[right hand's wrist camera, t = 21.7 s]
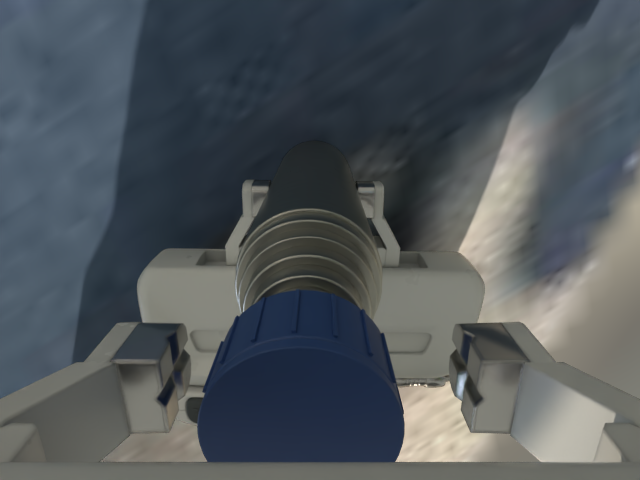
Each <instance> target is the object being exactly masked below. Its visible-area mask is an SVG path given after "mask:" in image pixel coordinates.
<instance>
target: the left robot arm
mask: <svg viewBox="0 0 640 480" xmlns="http://www.w3.org/2000/svg"><path fill="white" fill-rule="evenodd" d="M271 183H272V181H271V180H245V182H244V183H243V187H242V200H243V214H242V216H241V218H240V220H239V222H238V223H237V225H236V227H235V229H234V231H233V232H232V234H231V236H230V238H229V240H228V242H227V243H226V245H225V249H182V248H169V249H165V250H163V251H161V252H160V253H159V254H158V255H157V256H156V257H155V258H154V259H153V260H152V261H151V262H150V263H149V264H148V265H147V266H146V268H145V269H144V270H143V272H142V273H141V275H140V277H139V279H138V282H137V295H138V302H139V308H140V313H141V318H142V322H150V323H184V325H185V326H186V329H187V335H188V341H187V343H186V345H185V347H184V349H185V351H186V352H187V353H188V354H189V355H190V358H191V378H190V383H189V388H188V390H187V393H186V395H185V396H184V397H183V398H182V399H180V400H179V401H178V405H179V411H178V414H177V416H176V418H175V419H177V420H179V421H182V422H185V423H189V424H192V425H196V426H197V421H198V413H199V409H200V406H201V403H202V400H203V397H204V394H205V393H203V392H202V391H203V388H204V385H205V383H206V380H207V377H208V375H209V372H210V369H211V367H212V364H213V361H214V359H215V356H216V354H217V351H218V348H219V346H220V343H221V341H223V342H224V340H225V337H226V335H227V333H228V331H229V329H230V327H231V326H232V325H233V322H234V319H235V317H236V316H237V315H238V316H240V315H241V313H240V308H239V305H238V302H237V297H236V292H235V276H236V264H237V259H238V255H239V253H240V250H241V247H242V245H243V243H244V241H245V239H246V237H247V235H248V234H247V235H246V236H245V234H246V232H247V230H248V229H249V227H250V225H251V223H252V221H253V220H254V218H255V217H256V215H257V213H258V211H259V209H260V207H261V205H262V202H263V200H264V198H265V196H266V194H267V192H268V190H269V188H270V185H271ZM355 185H356V188H357V191H358V194H359V197H360V200H361V203H362V206H363V209H364V212H365V215H366V217H367V218H371V220H372V222H373V224H374V225H375V227H376V229H377V231H378V233H379V235H380V236H373V238H374V241H375V244H376V247H377V250H378V252H379V255H380V259H381V263H382V271H383V277H382V294H381V299H380V303H379V306H378V309H377V311H376V313H375V316H374V319H373V322H374V323H375V324H376V326H377V327H378V329H379V330H380V332H381V333H384V335H385V338H386V342H387V346H388V350H389V354H390V358H391V362H392V366H393V370H394V374H395V378H396V381H397V387H409V386H424V387H428V388H436V387H442V386H444V385H445V382H446V381H450V379H449V359H450V355H451V354H452V353H453V352H454V351H455V349H456V347H455V345H454V343H453V341H452V335H453V329H454V326H455V324H464V323H477V322H478V318H479V315H480V311H481V307H482V303H483V298H484V293H485V285H484V282H483V279H482V278H481V276H480V274H479V273H478V271H477V270H476V269H475V267H474V266H473V265H472V264H471V263H470V262H469V261H468V260H467V259H466V258H465V257H464V256H463V255H462V254H460V253H458V252H427V251H400V247H399V245H398V242H397V240H396V238H395V236H394V234H393V232H392V230H391V229H390V227H389V225H388V223H387V221H386V219H385V217H384V215H383V205H384V185H383V184H382V182H381V181H356V184H355Z"/></svg>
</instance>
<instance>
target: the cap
mask: <svg viewBox="0 0 640 480" xmlns="http://www.w3.org/2000/svg"><path fill="white" fill-rule="evenodd" d="M202 392H203V393H205V394H204V397H203V400H202V403H201V406H200V409H199V413H198V421H197V430H198V438H199V442H200V446H201V449H202V451H203V454H204V456H205V458H206V460H207V461H208V462H395V461H396V459H397V457H398V456H399V453H400V450H401V447H402V444H403V438H404V418H403V414H404V410H403V406H402V402H401V399H400V395H399V391H398V387H397V381H396V378H395V374H394V370H393V366H392V362H391V358H390V354H389V350H388V346H387V342H386V338H385V335H384V333H381V332H380V330H379V329H378V327H377V326H376V324H375V323H374V322H373V320H372V319H371V318H370V317H369V316H368V315H367V314H366V312H365V310H364V309H362V310H361V309H360V308H359V307H357V306H356V305H354V304H352V303H351V302H349V301H347V300H345V299H343V298H341V297H339V296H336V295H335V294H333V293H332V294H329V293H326V292H320V291H313V290H300V289H296V290H294V291H287V292H282V293H278V294H275V295H272V296H269V297H267V298H265V297H263V298H262V299H261V300H260V301H258V302H257V303H255V304H253V305H252V306H250V307H249V308H248V309H247V310H245V311H244V312H243V313H242V314H241V315H240V316H238V315H237V316H236V317H235V319H234V322H233V325H232V326H231V327H230V329H229V331H228V333H227V335H226V337H225V340H224V342H223V341H221V343H220V346H219V348H218V351H217V354H216V356H215V359H214V361H213V364H212V367H211V369H210V372H209V375H208V377H207V380H206V383H205V385H204V388H203V391H202Z"/></svg>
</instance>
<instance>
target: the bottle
mask: <svg viewBox="0 0 640 480" xmlns="http://www.w3.org/2000/svg"><path fill="white" fill-rule="evenodd" d="M382 277H383V271H382V263H381V259H380V255H379V252H378V250H377V247H376V244H375V241H374V238H373V235H372V232H371V229H370V226H369V223H368V220H367V217H366V215H365V212H364V209H363V206H362V203H361V200H360V197H359V194H358V191H357V188H356V185H355V183H354V180H353V177H352V174H351V171H350V168H349V165H348V163H347V160H346V159H345V157H344V156H343V154H342V153H341V152H340V151H339V150H338V149H337V148H335V147H334V146H332V145H330V144H328V143H326V142H322V141H307V142H303V143H300V144H298V145H296V146H295V147H293V148H292V149H291V150H290V151H289V152H288V153H287V154H286V155H285V157H284V158H283V160H282V162H281V164H280V166H279V168H278V170H277V173H276V175H275V177H274V179H273V181H272V183H271V185H270V188H269V190H268V192H267V194H266V196H265V198H264V200H263V202H262V205H261V207H260V209H259V211H258V213H257V215H256V217H255V220H254V222H253V224H252V226H251V228H250V230H249V232H248V235H247V237H246V239H245V241H244V243H243V245H242V247H241V250H240V253H239V255H238V259H237V264H236V276H235V292H236V297H237V302H238V305H239V308H240V313H241V314H242V313H243V312H244V311H245V310H247V309H248V308H249V307H250V306H252V305H253V304H255V303H257V302H258V301H260V300H261V299H262V298H263V297H265V298H267V297H269V296H272V295H275V294H278V293H282V292H287V291H294V290H296V289H300V290H313V291H320V292H326V293H329V294H332V293H333V294H335V295H336V296H339V297H341V298H343V299H345V300H347V301H349V302H351V303H352V304H354V305H356V306H357V307H359V308H360V309H361V310H362V309H364V310H365V312H366V314H367V315H368V316H369V317H370V318H371V319H372V320H373V319H374V316H375V313H376V311H377V309H378V306H379V303H380V299H381V294H382Z"/></svg>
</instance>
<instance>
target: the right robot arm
mask: <svg viewBox="0 0 640 480" xmlns="http://www.w3.org/2000/svg"><path fill="white" fill-rule="evenodd" d="M187 341H188V335H187V329H186V326H185V325H184V323H150V322H142V323H141V322H121V323H117V324H116V325H115V326H114V327H113V328H112V329H111V331H110V332H109V333H108V334H107V335H106V336H105V338H104V339H103V340H102V341H101V342H100V343H99V345H98V346H97V347H96V348H95V349H94V350H93V352H92V353H91V354H90V355H89V356H88V358H87V359H86V360H85V361H84V362H76V363H74V364H72V365H70V366H68V367H66V368H64V369H62V370H60V371H57V372H55V373H53V374H51V375H49V376H47V377H45V378H43V379H41V380H39V381H37V382H35V383H33V384H30V385H28V386H26V387H24V388H22V389H20V390H18V391H16V392H14V393H12V394H10V395H8V396H6V397H3V398H1V399H0V480H640V399H638V398H636V397H634V396H632V395H630V394H628V393H626V392H624V391H622V390H620V389H618V388H616V387H614V386H611V385H609V384H607V383H605V382H603V381H601V380H599V379H597V378H595V377H593V376H591V375H589V374H587V373H585V372H582V371H580V370H578V369H576V368H574V367H572V366H570V365H568V364H566V363H564V362H556V361H555V360H554V359H553V358H552V356H551V355H550V354H549V353H548V352H547V351H546V349H545V348H544V347H543V346H542V345H541V343H540V342H539V341H538V340H537V339H536V338H535V336H534V335H533V334H532V333H531V332H530V331H529V329H528V328H527V327H526V326H525V325H524V324H523V323H521V322H503V323H464V324H455V326H454V329H453V335H452V341H453V343H454V345H455V347H456V349H455V351H454V352H453V353H452V354H451V355H450V359H449V379H450V383H451V388H452V390H453V393H454V395H455V396H456V397H457V398H458V399H460V400H461V401H462V405H461V411H462V414H463V416H464V418H465V421H466V423H467V425H468V427H469V430H470V432H471V433H505V434H510V436H511V437H513V438H514V439H515V440H516V441H517V442H518V443H520V444H521V445H522V446H523V447H524V448H526V449H527V450H528V451H529V452H530V453H531V454H533V455H534V456H535V457H536V458H537V459H538V460H540V461H541V462H99V461H101V460H102V459H103V458H104V457H105V456H106V455H108V454H109V453H110V452H111V451H112V450H114V449H115V448H116V447H117V446H118V445H119V444H121V443H122V442H123V441H124V440H125V439H126V438H128V437H129V436H130V434H134V433H169V432H170V430H171V428H172V425H173V423H174V421H175V418H176V416H177V414H178V411H179V405H178V401H179V400H180V399H182V398H183V397H184V396H185V395H186V393H187V390H188V388H189V383H190V378H191V358H190V355H189V354H188V353H187V352H186V351H185V349H184V347H185V345H186V343H187Z"/></svg>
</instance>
